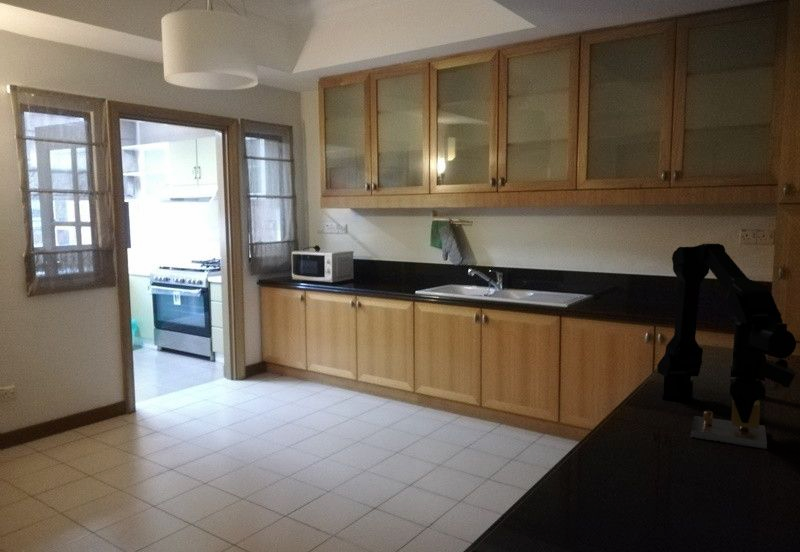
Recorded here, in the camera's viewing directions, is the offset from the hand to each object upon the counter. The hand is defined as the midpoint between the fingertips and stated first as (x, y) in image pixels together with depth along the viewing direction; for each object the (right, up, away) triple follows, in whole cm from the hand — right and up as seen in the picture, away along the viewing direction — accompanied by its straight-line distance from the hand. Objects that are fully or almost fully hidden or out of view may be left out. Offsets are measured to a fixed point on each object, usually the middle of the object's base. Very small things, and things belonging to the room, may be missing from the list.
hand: (744, 419), depth 131 cm
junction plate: (-3, -4, +2) cm, 5 cm away
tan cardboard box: (0, -1, 0) cm, 1 cm away
